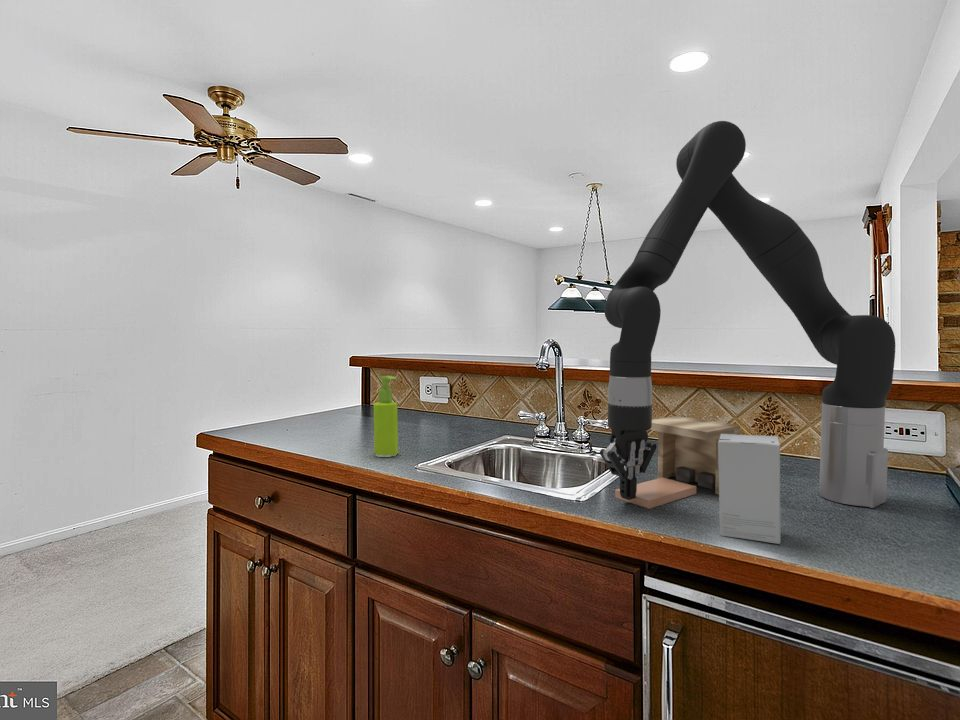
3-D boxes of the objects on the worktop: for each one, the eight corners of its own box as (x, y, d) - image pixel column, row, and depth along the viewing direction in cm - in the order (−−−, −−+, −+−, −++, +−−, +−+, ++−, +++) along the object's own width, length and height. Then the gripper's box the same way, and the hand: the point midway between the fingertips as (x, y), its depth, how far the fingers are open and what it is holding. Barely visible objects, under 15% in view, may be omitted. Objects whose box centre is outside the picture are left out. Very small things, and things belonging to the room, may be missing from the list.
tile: (696, 496, 97) (696, 486, 97) (649, 511, 89) (649, 500, 89) (662, 487, 103) (662, 477, 103) (615, 500, 95) (615, 489, 95)
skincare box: (779, 532, 78) (781, 435, 77) (780, 547, 73) (783, 443, 72) (718, 522, 82) (720, 431, 81) (716, 536, 77) (717, 438, 76)
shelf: (738, 489, 99) (740, 425, 98) (705, 500, 93) (707, 432, 92) (675, 473, 111) (676, 415, 110) (642, 481, 104) (642, 421, 104)
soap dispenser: (384, 460, 124) (382, 377, 123) (370, 454, 129) (368, 375, 128) (404, 456, 128) (403, 376, 127) (390, 451, 133) (389, 374, 132)
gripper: (621, 407, 84) (620, 511, 85) (671, 401, 91) (669, 497, 92) (587, 402, 90) (586, 499, 91) (636, 396, 97) (635, 486, 98)
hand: (628, 498), depth 91 cm, fingers closed
